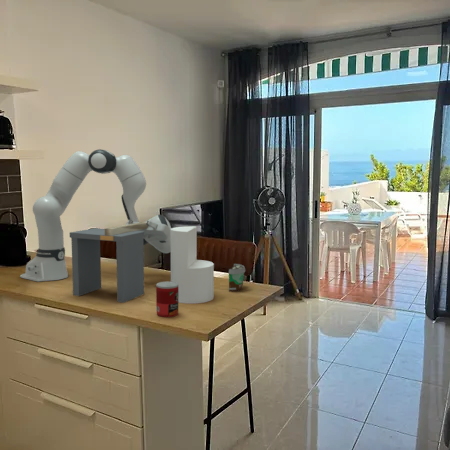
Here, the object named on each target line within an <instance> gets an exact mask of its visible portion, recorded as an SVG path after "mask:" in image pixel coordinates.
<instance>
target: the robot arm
mask: <svg viewBox="0 0 450 450" xmlns="http://www.w3.org/2000/svg"><path fill="white" fill-rule="evenodd" d="M92 171H93V172H94V173H97V174H101V175H105V174H110V173H114V174H115V175H116V177H117V178H118V180H119V182H120V184H121V187H122V192H123V193H122V195H121V203H122V206H123V209H124V212H125V215H126V218H127V222H126V224H125V225H129V224H135V223H140V221H139V218H138V214H137V212H136V210H135V204H136V202H137V200H138V199H140V197H141V195H142V194H143V193H144V192H145V190H146V187H147V181H146V178H145V176H144V173H143V172H142V170H141V168H140V167H139V164H137V162H136V161H135V159H134V158H133V156H131V155H129V154H123V155H120V156H115V154H114V153H112V152H111V151H109V150H107V149H100V148H99V149H96V150H93V151H92V152H91V153H90V154H89V153H86V152H84V151H81V150H78V151H75V152H73V154H72V155H71V156H70V157H69V158H68V159H67V160H66V161H65V163H64V164H63V165H62V167H61V168H60V170H59V171H58V173H57V174H56V175H55V178H54V179H52V183H51V185H50V187H49V190H48V191H47V192H46V194H45V195H44V196H41V197H39V198H37V199H36V200H35V202H34V203H33V205H32V213H33V215H34V219H35V222H36V223H35V224H36V228H37V237H38V240H37V241H38V248H37V249H34V250H33V251H34V253H36V254H35V256H34V257H33V259H31V260H30V261H29V262H27V263H26V265H25V273H22V274H20V276H19V277H20V278H22V279H25V280H30V281H33V282H46V281H47V282H48V281H58V280H63V279H67V278H69V273H68V269H67V263H66V258H65V256H66V248H65V247H64V245H65V243H64V242H65V241H64V230H63V227H62V221H61V216H62V215H63V214H64V213H65V211H66V210H67V208H68V207H69V204H70V202H71V200H72V199H73V197H74V195H75V193H76V192H77V190H78V189H79V187H80V186H81V185H82V183H83V181H84V180H85V179H86V177H87V176H88V174H90V173H91V172H92ZM144 222H147V223H146V225H148V228H147V229H142V230H137V231H142V232H145V237H143V246H146V245H147V244H149V245H151V246H153V247H154V248H155V249H156V250H157V251H159V252H160V253H163V254H169V253H170V254H171V228H172V224H171V222H170V220H169V219H168V218H167V217H166V216H164V215H162V214H156V215H155V216H152V217H151V218H150V219H147V220H144Z"/></svg>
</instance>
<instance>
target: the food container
mask: <svg viewBox="0 0 450 450" xmlns="http://www.w3.org/2000/svg"><path fill="white" fill-rule="evenodd" d="M245 272H246V268H245V266H244V265H242V264H241V263H233V266H232V267H231V268H228V292H229V293H230V292H232V293H233V292H240V291H242V290H243V289H244V288H243V287H244V277H245V276H244V275H245Z"/></svg>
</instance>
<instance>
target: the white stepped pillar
mask: <svg viewBox="0 0 450 450" xmlns="http://www.w3.org/2000/svg"><path fill="white" fill-rule="evenodd" d="M197 233H198V232H197V226H196V225H195V226H192V225H191V226H176V227H171V252H170V282H176V283H178V303H180V304H193V305H194V304H203V303H207V302H210V301H212V300H214V298H215V297H214V296H215V295H214V290H215V289H214V286H215V285H214V281H215V278H214V277H215V276H214V275H215V274H214V272H215V271H214V269H215V263H213V262H212V261H209V260H202V259H197V255H198V253H197V252H198V250H197V248H198V247H197V245H198V243H197V242H198V241H197V240H198V239H197V238H198V236H197V235H198V234H197Z"/></svg>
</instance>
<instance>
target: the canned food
mask: <svg viewBox="0 0 450 450" xmlns="http://www.w3.org/2000/svg"><path fill="white" fill-rule="evenodd" d="M155 290H156V291H155V292H156V293H155V294H156V295H155V296H156V297H155V299H156V300H155V301H156V303H155V304H156V308H155V309H156V315H157V316H158V317H160V318H161V317H162V318H174V317H176V316H178V315H179V302H178V283H176V282H171V281H160V282H157V283H156V286H155Z"/></svg>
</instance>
